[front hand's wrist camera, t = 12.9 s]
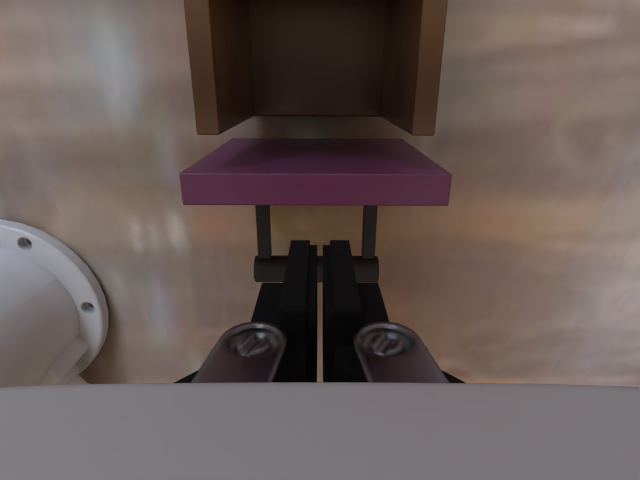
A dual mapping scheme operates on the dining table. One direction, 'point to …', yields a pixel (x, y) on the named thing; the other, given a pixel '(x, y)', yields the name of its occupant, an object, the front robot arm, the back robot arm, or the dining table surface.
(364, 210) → the drawer
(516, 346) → the dining table surface
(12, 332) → the front robot arm
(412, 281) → the dining table surface
